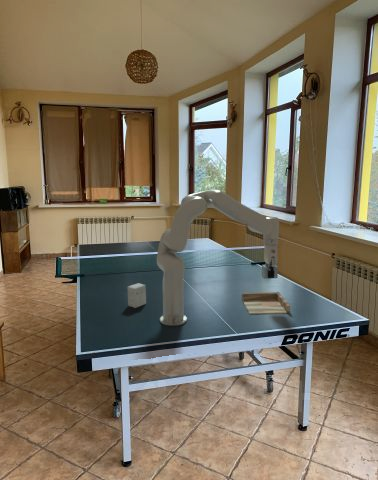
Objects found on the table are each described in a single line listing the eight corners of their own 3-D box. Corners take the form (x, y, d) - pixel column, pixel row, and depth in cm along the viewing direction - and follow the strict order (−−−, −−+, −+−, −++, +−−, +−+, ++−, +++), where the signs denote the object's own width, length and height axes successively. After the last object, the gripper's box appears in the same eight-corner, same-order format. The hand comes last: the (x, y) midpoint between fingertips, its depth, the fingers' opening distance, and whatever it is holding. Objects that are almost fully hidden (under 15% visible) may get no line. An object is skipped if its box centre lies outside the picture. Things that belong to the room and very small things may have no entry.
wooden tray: (289, 313, 184) (290, 305, 183) (249, 314, 183) (249, 306, 182) (278, 299, 203) (278, 292, 203) (242, 300, 203) (242, 292, 202)
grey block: (263, 278, 190) (264, 267, 189) (261, 276, 195) (262, 264, 193) (277, 278, 190) (277, 266, 189) (275, 275, 195) (275, 264, 194)
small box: (139, 301, 201) (138, 282, 199) (146, 303, 198) (145, 284, 196) (127, 305, 195) (127, 286, 193) (135, 308, 192) (134, 288, 190)
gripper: (283, 244, 181) (281, 281, 184) (273, 238, 197) (272, 271, 201) (267, 245, 181) (266, 281, 184) (259, 238, 197) (258, 272, 201)
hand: (269, 276), depth 192 cm, fingers closed on grey block, 4 cm apart
